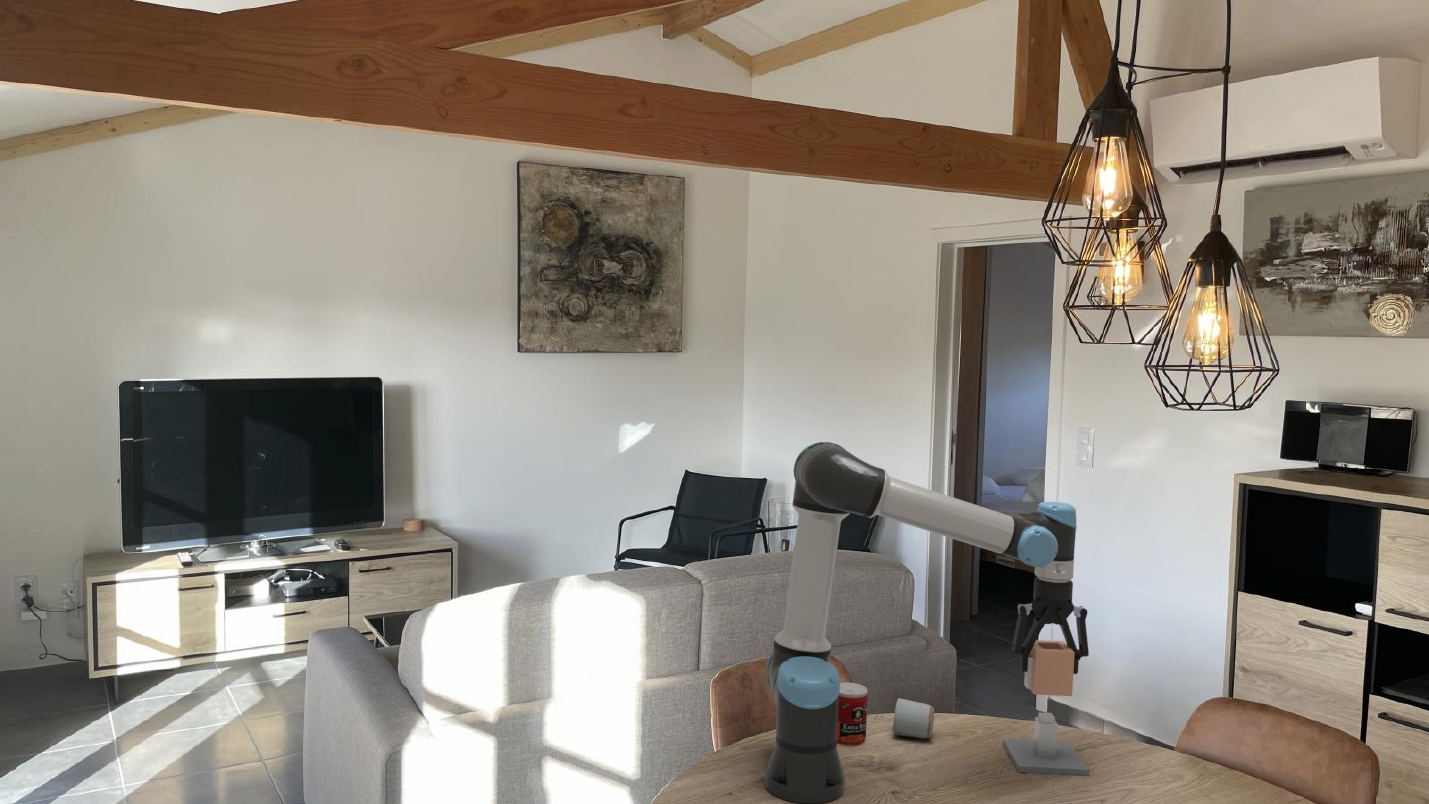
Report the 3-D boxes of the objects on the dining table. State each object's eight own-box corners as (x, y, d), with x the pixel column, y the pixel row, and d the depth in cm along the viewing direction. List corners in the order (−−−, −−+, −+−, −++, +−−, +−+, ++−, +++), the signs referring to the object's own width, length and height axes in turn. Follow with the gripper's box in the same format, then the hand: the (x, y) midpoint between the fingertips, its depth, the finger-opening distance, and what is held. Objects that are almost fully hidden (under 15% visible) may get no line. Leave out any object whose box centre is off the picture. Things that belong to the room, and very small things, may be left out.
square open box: (1033, 694, 208) (1036, 650, 208) (1024, 681, 216) (1026, 639, 215) (1072, 696, 208) (1074, 652, 207) (1061, 683, 216) (1063, 641, 215)
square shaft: (1038, 756, 211) (1040, 717, 211) (1033, 749, 215) (1035, 711, 214) (1056, 757, 211) (1058, 718, 210) (1051, 750, 215) (1053, 712, 214)
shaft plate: (1018, 771, 206) (1018, 766, 206) (1002, 744, 220) (1002, 739, 220) (1089, 775, 206) (1089, 769, 206) (1069, 747, 220) (1069, 742, 219)
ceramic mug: (931, 744, 219) (932, 709, 219) (892, 739, 221) (893, 704, 221) (934, 728, 229) (936, 694, 229) (897, 723, 231) (899, 689, 231)
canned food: (840, 747, 216) (842, 696, 215) (823, 733, 223) (825, 684, 223) (872, 743, 219) (874, 692, 218) (854, 729, 226) (856, 680, 226)
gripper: (1007, 580, 207) (1001, 691, 209) (1110, 584, 206) (1104, 696, 208) (998, 572, 215) (993, 679, 216) (1099, 576, 214) (1093, 684, 215)
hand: (1048, 687), depth 212 cm, fingers closed on square open box, 8 cm apart
